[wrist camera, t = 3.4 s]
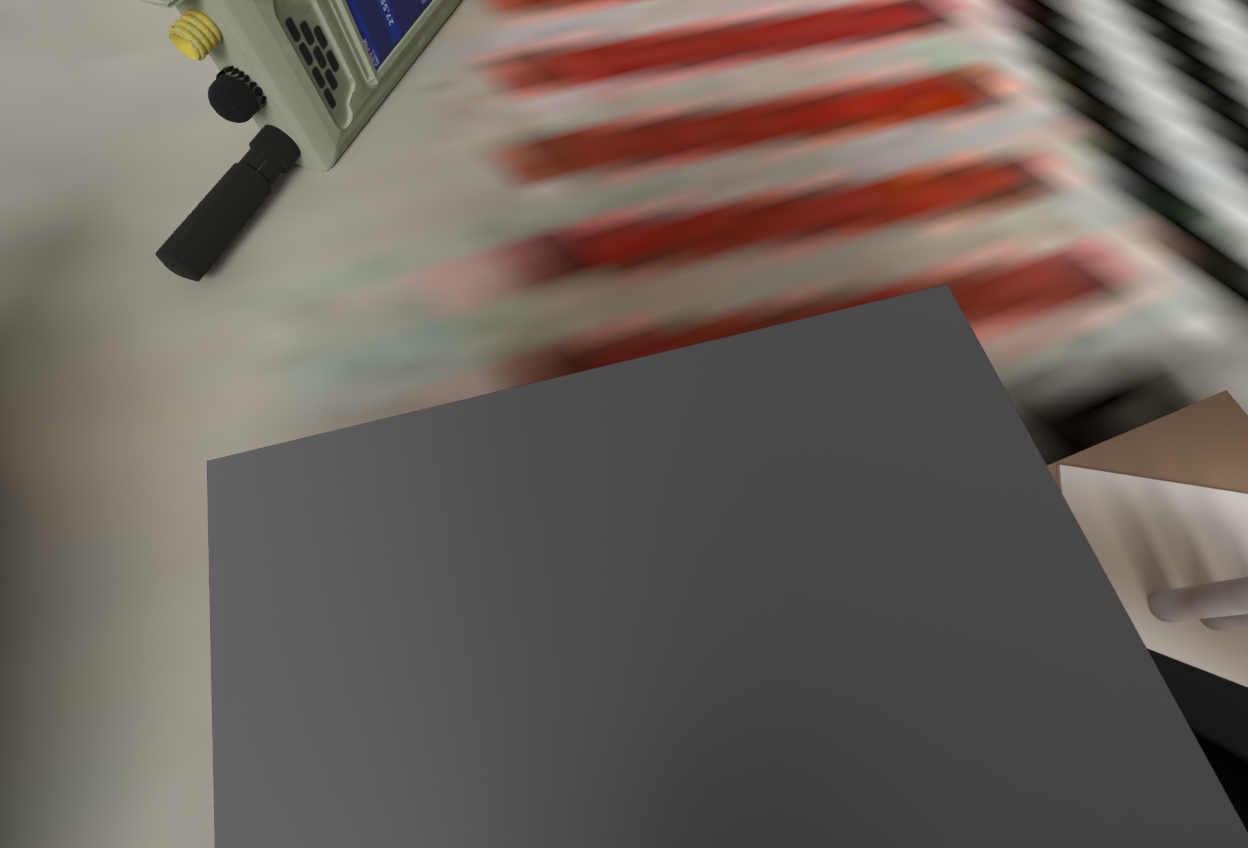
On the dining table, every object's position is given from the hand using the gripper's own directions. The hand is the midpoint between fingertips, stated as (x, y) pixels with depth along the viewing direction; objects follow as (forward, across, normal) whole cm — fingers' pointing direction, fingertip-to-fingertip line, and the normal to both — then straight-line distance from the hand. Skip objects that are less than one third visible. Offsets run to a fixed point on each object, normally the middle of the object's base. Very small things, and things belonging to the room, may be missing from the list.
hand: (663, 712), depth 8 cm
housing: (+5, 0, +6) cm, 8 cm away
